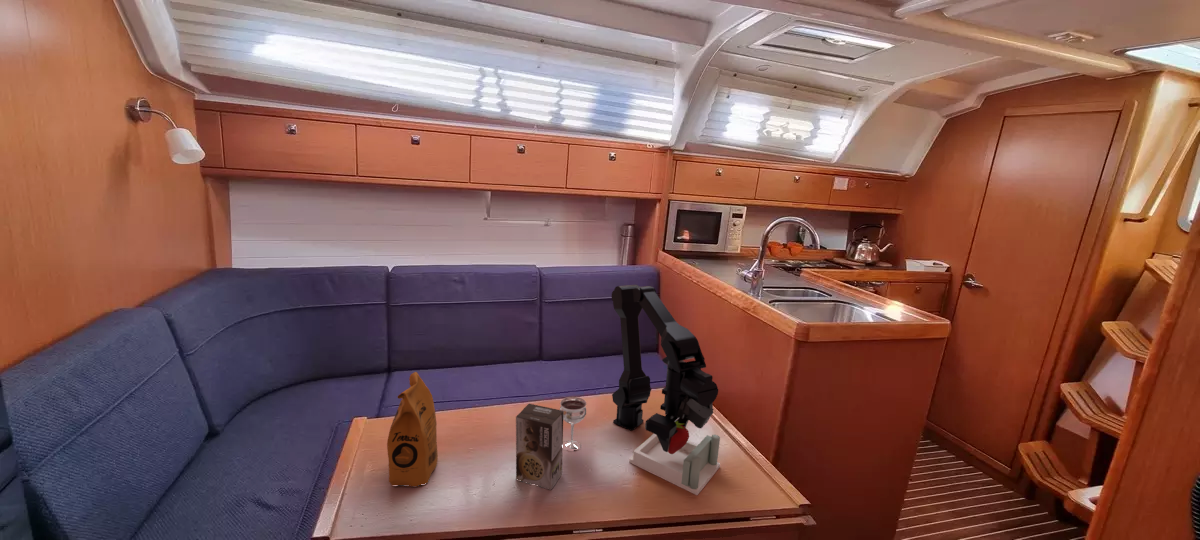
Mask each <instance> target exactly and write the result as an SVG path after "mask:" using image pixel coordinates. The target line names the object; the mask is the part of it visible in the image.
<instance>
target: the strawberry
mask: <svg viewBox="0 0 1200 540" xmlns="http://www.w3.org/2000/svg"><path fill="white" fill-rule="evenodd" d="M675 423H676V424H677V427H676V430H678V432H677V433H676V434H675V435H674V436H672V438H671V442H670V446H669V450H668V453H670V454H674V453H675V452H677V451H678V450H680V449H681V448H682V447H683V446H684V445H685V444H686V443H687V441H688V440H689V438H690V433H689V430H688V429H687V427H686V428H685V427H684V426H682V425H683V424H682V423H678V421H676V422H675Z"/></svg>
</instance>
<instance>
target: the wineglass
mask: <svg viewBox="0 0 1200 540" xmlns="http://www.w3.org/2000/svg"><path fill="white" fill-rule="evenodd" d="M559 404H560V408H559V410H562V411H564V412H563V422H565V423H568V424H570V440H571V441H569V440H567V441H568V442H567V443H565V446H566V447H568V448H570V449H578V448H579V447H580V444H581V443H580V442H579V441H578V442H579V443H578V442H577V440H574V428H575V425H576V424H579V423H581V422H582V420H584V419H585V417H586V415H587V401H586V400H585V399H584V398H582V397H578V396H567V397H564V398H563V399H561V400H560V403H559ZM573 440H574V441H573Z"/></svg>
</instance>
